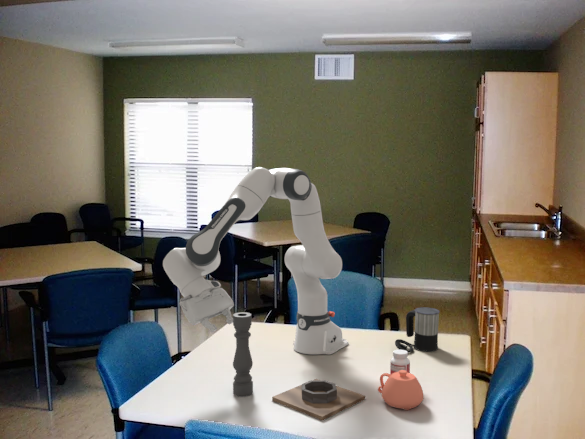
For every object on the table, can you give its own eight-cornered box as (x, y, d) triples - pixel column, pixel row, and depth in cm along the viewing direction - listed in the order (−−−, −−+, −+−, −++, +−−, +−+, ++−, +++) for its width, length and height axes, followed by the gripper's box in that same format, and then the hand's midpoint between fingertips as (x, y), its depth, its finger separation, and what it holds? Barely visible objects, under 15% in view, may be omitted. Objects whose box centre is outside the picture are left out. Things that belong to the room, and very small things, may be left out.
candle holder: (250, 397, 190) (249, 318, 187) (230, 395, 192) (229, 316, 189) (255, 389, 196) (254, 312, 193) (236, 388, 198) (235, 311, 195)
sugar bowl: (414, 416, 177) (415, 381, 176) (369, 405, 185) (370, 372, 183) (429, 401, 188) (430, 368, 186) (386, 391, 195) (386, 360, 194)
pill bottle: (402, 379, 204) (402, 347, 203) (413, 386, 199) (414, 353, 197) (386, 383, 202) (386, 350, 200) (397, 389, 196) (398, 356, 195)
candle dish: (316, 382, 202) (316, 369, 202) (365, 399, 189) (365, 386, 188) (272, 400, 188) (272, 387, 187) (322, 420, 174) (322, 406, 174)
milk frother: (442, 347, 237) (443, 309, 236) (427, 359, 224) (428, 319, 222) (407, 340, 245) (407, 304, 243) (390, 351, 232) (391, 313, 230)
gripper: (182, 293, 188) (209, 329, 185) (221, 280, 206) (246, 313, 202) (171, 306, 191) (197, 341, 187) (211, 292, 209) (235, 324, 205)
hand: (223, 326), depth 195 cm, fingers open, 8 cm apart
